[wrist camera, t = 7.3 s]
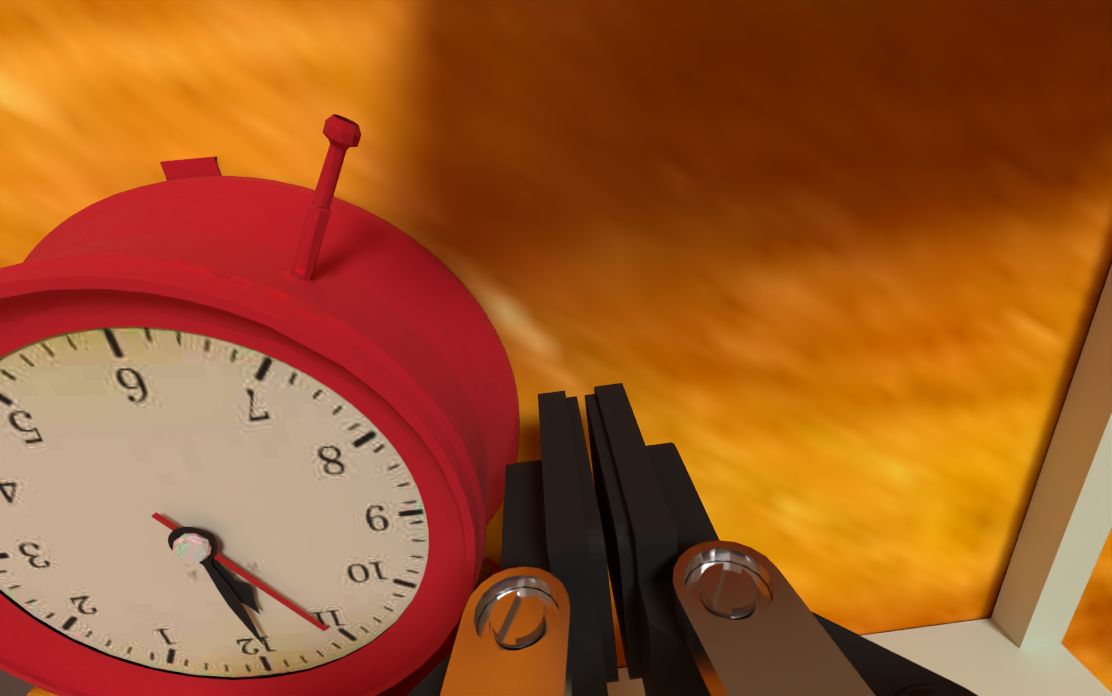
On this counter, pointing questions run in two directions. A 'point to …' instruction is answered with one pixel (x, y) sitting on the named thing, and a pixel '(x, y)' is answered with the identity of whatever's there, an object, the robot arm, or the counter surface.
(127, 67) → the counter surface
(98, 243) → the alarm clock
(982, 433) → the counter surface
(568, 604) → the robot arm
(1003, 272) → the counter surface
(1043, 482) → the shelf bay
